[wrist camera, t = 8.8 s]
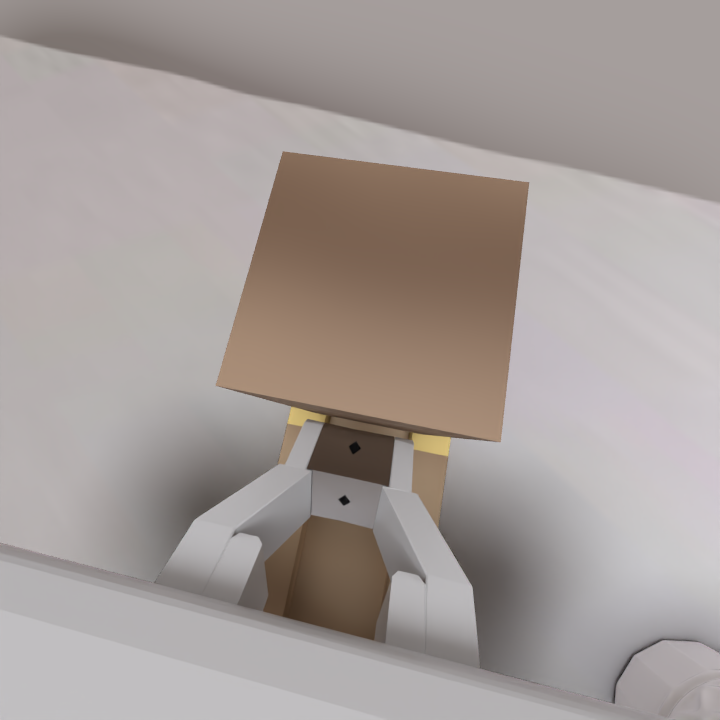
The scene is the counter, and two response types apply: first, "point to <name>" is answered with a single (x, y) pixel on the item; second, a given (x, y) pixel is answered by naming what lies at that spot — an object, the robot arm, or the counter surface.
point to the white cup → (673, 681)
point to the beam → (344, 545)
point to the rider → (382, 296)
